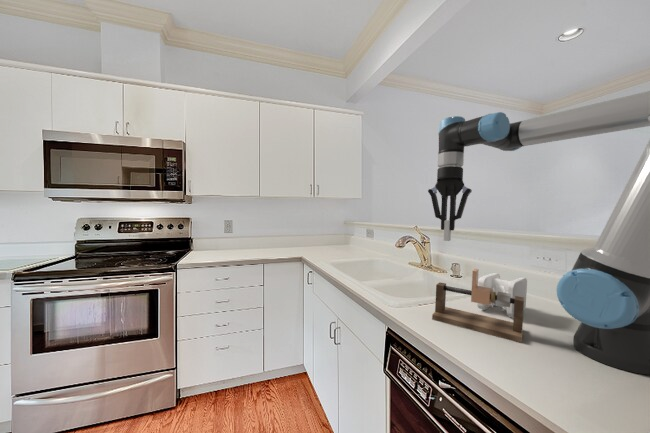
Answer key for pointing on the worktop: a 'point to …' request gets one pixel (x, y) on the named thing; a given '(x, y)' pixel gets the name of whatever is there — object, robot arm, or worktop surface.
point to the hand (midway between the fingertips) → (447, 240)
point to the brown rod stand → (479, 321)
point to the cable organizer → (503, 290)
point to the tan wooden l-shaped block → (479, 291)
